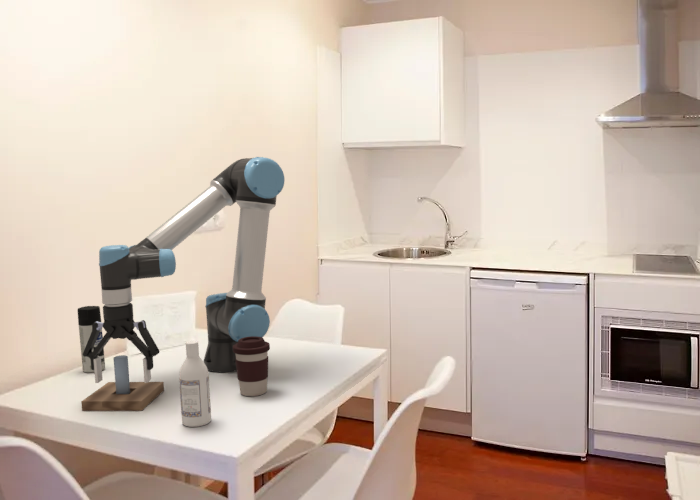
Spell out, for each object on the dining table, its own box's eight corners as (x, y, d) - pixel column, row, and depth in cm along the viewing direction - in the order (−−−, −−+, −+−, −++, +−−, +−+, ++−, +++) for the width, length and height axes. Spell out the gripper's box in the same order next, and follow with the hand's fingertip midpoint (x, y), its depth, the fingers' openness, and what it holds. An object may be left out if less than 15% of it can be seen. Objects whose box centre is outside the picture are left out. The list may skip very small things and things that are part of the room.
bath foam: (199, 415, 170) (194, 337, 167) (217, 421, 165) (212, 340, 163) (176, 423, 165) (171, 343, 162) (193, 429, 160) (188, 347, 158)
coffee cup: (231, 390, 189) (228, 337, 187) (266, 384, 192) (263, 333, 191) (240, 400, 179) (237, 345, 178) (276, 394, 183) (273, 340, 182)
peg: (132, 398, 184) (129, 355, 183) (127, 402, 181) (124, 359, 179) (120, 398, 185) (116, 355, 183) (114, 402, 181) (111, 359, 180)
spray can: (97, 373, 209) (92, 309, 206) (77, 373, 210) (72, 309, 208) (109, 367, 215) (104, 305, 213) (90, 366, 217) (85, 305, 214)
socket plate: (164, 390, 190) (163, 381, 190) (141, 410, 174) (141, 401, 174) (109, 390, 192) (108, 382, 191) (82, 410, 176) (81, 401, 176)
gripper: (168, 300, 183) (173, 376, 185) (79, 301, 185) (85, 377, 187) (158, 305, 175) (163, 385, 178) (65, 307, 177) (71, 385, 180)
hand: (123, 381), depth 182 cm, fingers open, 13 cm apart
